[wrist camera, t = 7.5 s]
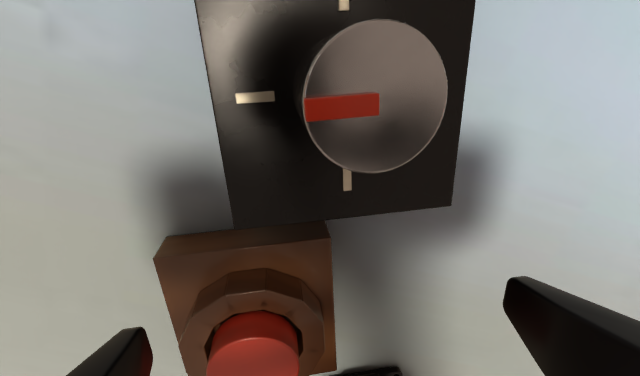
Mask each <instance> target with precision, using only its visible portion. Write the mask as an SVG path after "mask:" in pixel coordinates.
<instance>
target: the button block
mask: <svg viewBox="0 0 640 376" xmlns="http://www.w3.org/2000/svg"><path fill="white" fill-rule="evenodd" d="M153 261H154V264H155V267H156V271H157V274H158V277H159V281H160V284H161V287H162V291H163V294H164V297H165V301H166V304H167V307H168V311H169V314H170V317H171V321H172V324H173V327H174V331H175V334H176V337H177V341H178V344H179V350H180V353H181V356H182V359H183V363H184V366H185V369H186V373H187V374H188V376H206V369H207V364H208V360H209V355H210V350H211V346H212V341H213V337H214V335H215V333H216V331H217V330H218V329H219V327H220V326H221V325H222V324H223V323H224V322H225V321H227V320H228V319H230V318H232V317H233V316H236V315H238V314H241V313H244V312H251V311H267V312H272V313H275V314H278V315H280V316H282V317H283V318H285V319H286V320H287V321H289V322H290V324H291V325H292V326H293V328H294V329H295V331H296V334H297V341H298V352H299V363H300V369H299V373H298V376H309V375H313V374H319V373H325V372H331V371H336V370H337V365H336V342H335V319H334V296H333V273H332V250H331V237H330V234H329V231H328V228H327V225H326V222H325V220H322V221H313V222H304V223H296V224H287V225H278V226H269V227H260V228H251V229H242V230H235V229H232V230H223V231H214V232H205V233H196V234H187V235H178V236H169V237H166V238H165V240H164V242H163V243H162V245H161V247H160V248H159V250H158V251H157V253H156V255H155V256H154V258H153Z"/></svg>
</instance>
